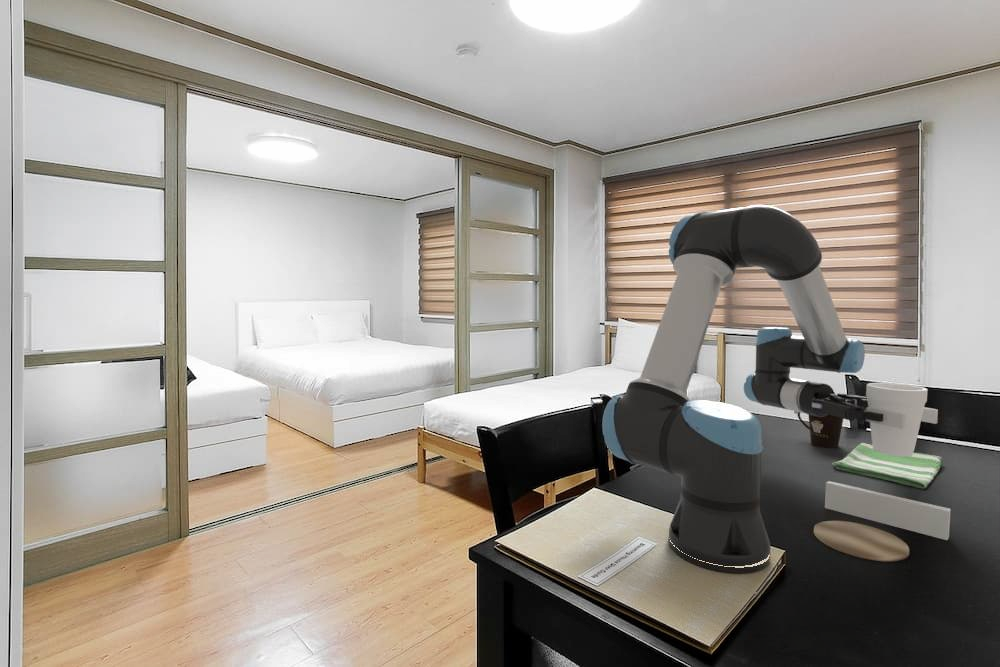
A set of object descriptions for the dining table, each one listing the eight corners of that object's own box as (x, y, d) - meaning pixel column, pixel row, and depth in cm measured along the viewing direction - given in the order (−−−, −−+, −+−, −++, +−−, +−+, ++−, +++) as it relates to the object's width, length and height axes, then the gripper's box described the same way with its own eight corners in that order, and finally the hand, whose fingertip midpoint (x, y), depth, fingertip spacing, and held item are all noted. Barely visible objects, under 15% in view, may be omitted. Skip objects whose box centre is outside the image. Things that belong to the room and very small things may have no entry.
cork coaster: (900, 570, 76) (900, 566, 76) (803, 540, 85) (803, 536, 85) (915, 542, 85) (916, 538, 85) (826, 517, 94) (826, 514, 94)
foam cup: (869, 442, 107) (872, 381, 106) (926, 451, 100) (929, 386, 100) (859, 451, 100) (862, 386, 99) (919, 462, 94) (923, 392, 93)
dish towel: (829, 470, 122) (830, 458, 121) (858, 450, 137) (858, 440, 137) (925, 491, 108) (926, 479, 108) (945, 467, 123) (946, 456, 123)
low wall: (947, 540, 85) (949, 511, 85) (824, 507, 98) (825, 482, 98) (948, 537, 86) (950, 508, 86) (827, 505, 100) (828, 480, 99)
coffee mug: (850, 449, 137) (852, 412, 136) (818, 449, 137) (819, 412, 136) (823, 437, 148) (825, 403, 147) (793, 437, 148) (795, 403, 148)
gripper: (839, 409, 121) (953, 432, 100) (773, 418, 112) (882, 445, 92) (841, 378, 120) (955, 395, 100) (774, 384, 112) (884, 404, 91)
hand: (920, 419), depth 96 cm, fingers closed on foam cup, 9 cm apart
